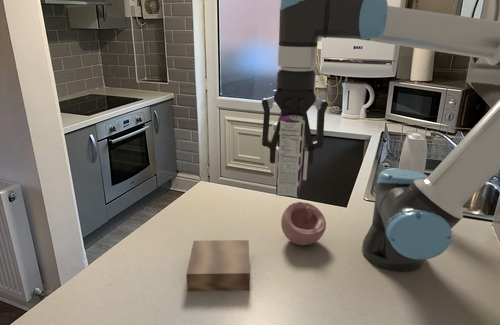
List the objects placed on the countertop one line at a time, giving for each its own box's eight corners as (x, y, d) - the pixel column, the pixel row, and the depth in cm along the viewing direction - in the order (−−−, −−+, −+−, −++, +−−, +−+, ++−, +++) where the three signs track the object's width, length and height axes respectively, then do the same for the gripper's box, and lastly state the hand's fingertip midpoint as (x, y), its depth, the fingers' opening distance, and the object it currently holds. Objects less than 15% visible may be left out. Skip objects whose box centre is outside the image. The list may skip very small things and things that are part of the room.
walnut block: (248, 257, 99) (248, 240, 98) (249, 292, 86) (249, 273, 84) (194, 257, 99) (193, 240, 97) (187, 292, 86) (186, 273, 84)
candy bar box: (281, 176, 90) (285, 107, 84) (302, 179, 89) (308, 109, 84) (274, 195, 80) (278, 118, 74) (298, 198, 79) (304, 120, 73)
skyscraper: (405, 221, 118) (419, 134, 109) (386, 210, 125) (398, 127, 116) (425, 216, 121) (440, 131, 112) (405, 206, 128) (418, 125, 119)
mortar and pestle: (296, 258, 98) (298, 218, 94) (272, 237, 108) (273, 200, 104) (333, 247, 103) (336, 209, 100) (307, 227, 113) (309, 192, 110)
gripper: (339, 68, 79) (329, 172, 87) (251, 65, 80) (248, 169, 87) (346, 71, 72) (335, 185, 80) (249, 69, 73) (247, 182, 80)
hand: (290, 177), depth 83 cm, fingers closed on candy bar box, 5 cm apart
